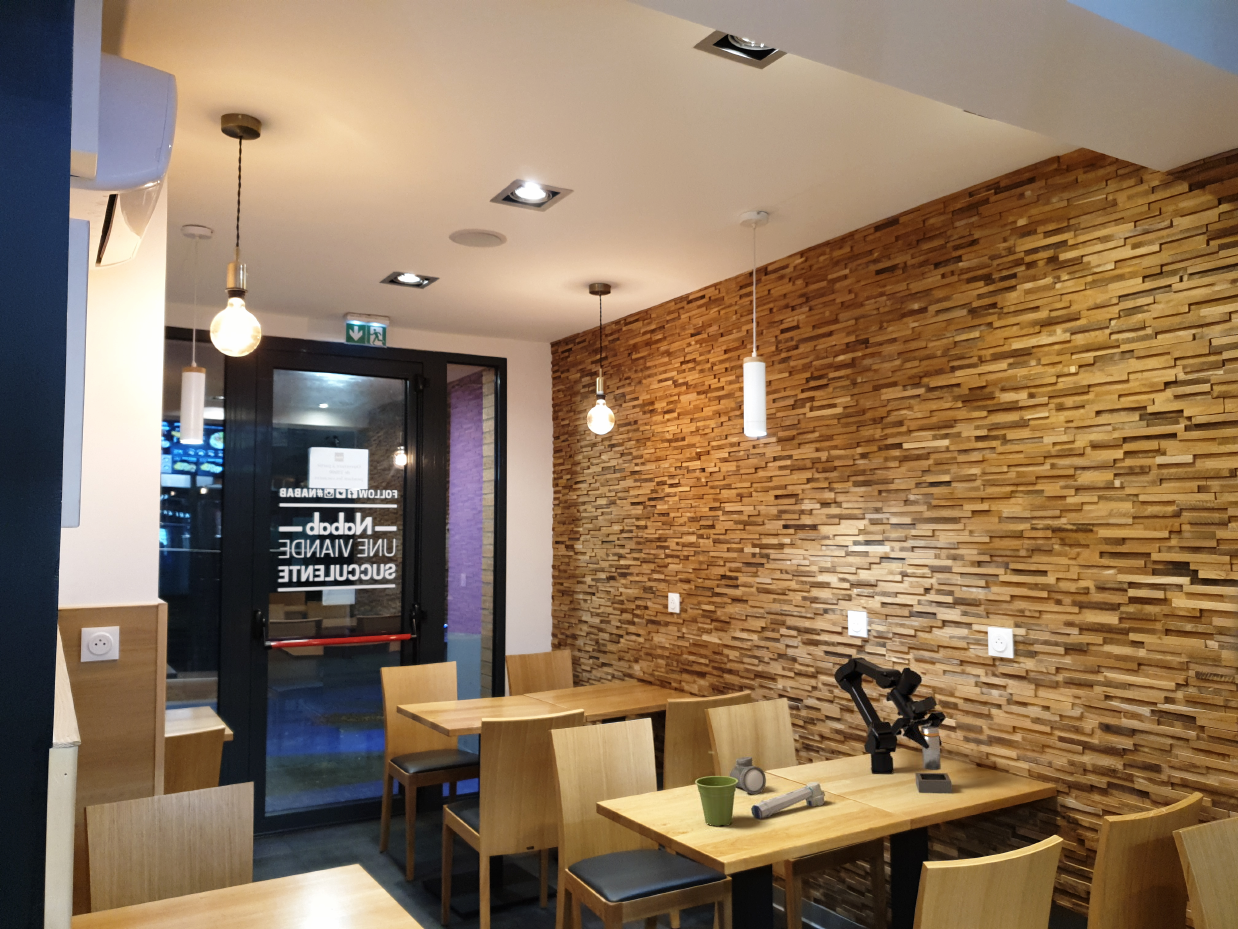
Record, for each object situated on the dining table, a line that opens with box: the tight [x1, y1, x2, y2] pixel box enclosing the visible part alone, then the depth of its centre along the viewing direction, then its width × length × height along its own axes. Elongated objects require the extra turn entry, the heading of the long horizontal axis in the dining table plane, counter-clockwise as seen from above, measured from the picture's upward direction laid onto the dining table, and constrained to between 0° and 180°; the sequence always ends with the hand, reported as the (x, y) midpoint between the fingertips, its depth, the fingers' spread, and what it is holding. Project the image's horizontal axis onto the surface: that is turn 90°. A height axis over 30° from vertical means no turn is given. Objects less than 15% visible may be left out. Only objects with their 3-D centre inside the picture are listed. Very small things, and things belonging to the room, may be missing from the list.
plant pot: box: [694, 775, 738, 827], centre depth 253 cm, size 12×12×11 cm
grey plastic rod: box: [750, 781, 826, 820], centre depth 262 cm, size 5×7×25 cm
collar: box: [914, 772, 953, 794], centre depth 278 cm, size 9×9×4 cm
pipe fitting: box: [728, 756, 767, 795], centre depth 285 cm, size 12×8×10 cm, turn 21°
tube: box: [920, 725, 942, 771], centre depth 279 cm, size 5×5×12 cm
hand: (934, 746), depth 278 cm, fingers closed on tube, 5 cm apart
